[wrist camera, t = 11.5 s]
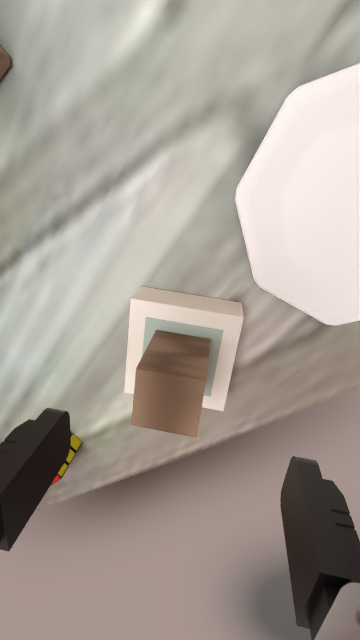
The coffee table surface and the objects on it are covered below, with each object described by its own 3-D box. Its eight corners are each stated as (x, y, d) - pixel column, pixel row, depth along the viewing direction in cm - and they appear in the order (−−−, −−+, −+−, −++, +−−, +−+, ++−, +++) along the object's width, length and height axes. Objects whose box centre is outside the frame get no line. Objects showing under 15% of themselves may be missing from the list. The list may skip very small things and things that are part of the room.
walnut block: (211, 338, 29) (206, 381, 22) (202, 385, 31) (196, 437, 24) (156, 329, 29) (135, 368, 23) (151, 376, 31) (131, 424, 25)
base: (241, 302, 31) (243, 317, 28) (223, 388, 35) (223, 412, 31) (141, 286, 32) (130, 299, 28) (134, 371, 36) (123, 393, 32)
